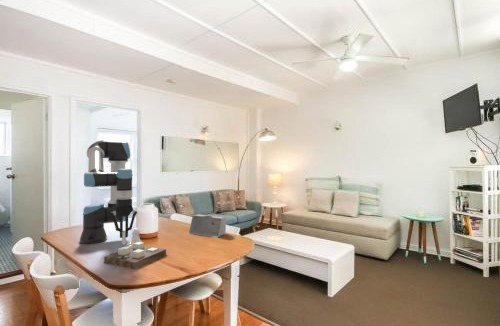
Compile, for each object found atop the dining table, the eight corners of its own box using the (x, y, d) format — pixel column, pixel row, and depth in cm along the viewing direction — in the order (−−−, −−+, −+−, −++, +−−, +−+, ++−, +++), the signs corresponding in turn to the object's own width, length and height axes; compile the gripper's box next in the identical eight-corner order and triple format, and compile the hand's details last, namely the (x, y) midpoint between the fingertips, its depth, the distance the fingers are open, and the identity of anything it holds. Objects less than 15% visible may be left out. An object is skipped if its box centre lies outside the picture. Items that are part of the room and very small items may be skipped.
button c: (132, 249, 151) (132, 243, 151) (138, 247, 155) (138, 241, 155) (138, 250, 150) (138, 244, 150) (143, 248, 153) (143, 242, 153)
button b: (132, 258, 138) (132, 251, 138) (138, 255, 142) (138, 249, 142) (138, 259, 137) (138, 252, 137) (144, 257, 140) (144, 250, 140)
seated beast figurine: (126, 246, 165) (126, 226, 165) (142, 244, 169) (142, 225, 169) (126, 251, 157) (126, 230, 157) (142, 249, 160) (142, 228, 160)
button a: (117, 255, 142) (117, 248, 142) (124, 253, 146) (124, 246, 146) (123, 256, 140) (123, 249, 140) (129, 254, 144) (129, 247, 144)
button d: (146, 256, 147) (146, 249, 147) (152, 253, 151) (152, 247, 151) (152, 257, 146) (152, 250, 146) (157, 254, 149) (158, 248, 149)
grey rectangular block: (230, 232, 200) (230, 215, 200) (218, 238, 186) (218, 219, 186) (201, 228, 211) (202, 212, 211) (188, 233, 197) (188, 216, 197)
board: (104, 262, 138) (104, 255, 138) (138, 249, 159) (138, 243, 159) (134, 269, 130) (134, 261, 130) (166, 254, 151) (166, 248, 151)
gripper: (109, 199, 137) (109, 247, 137) (137, 198, 142) (137, 244, 142) (111, 198, 144) (110, 243, 144) (137, 197, 149) (137, 240, 149)
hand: (123, 243), depth 143 cm, fingers closed
